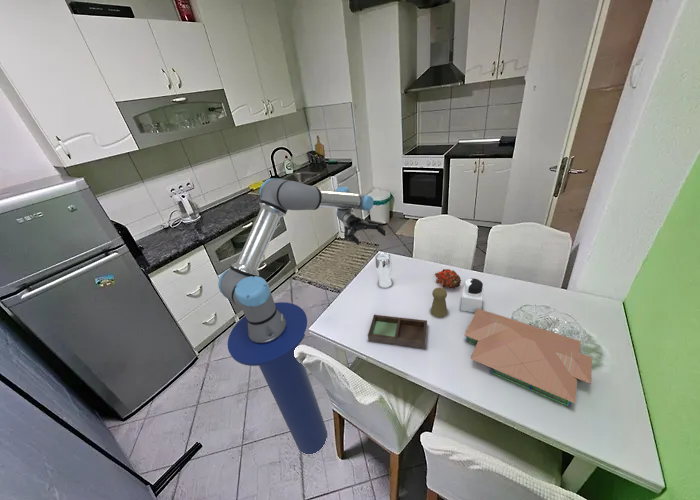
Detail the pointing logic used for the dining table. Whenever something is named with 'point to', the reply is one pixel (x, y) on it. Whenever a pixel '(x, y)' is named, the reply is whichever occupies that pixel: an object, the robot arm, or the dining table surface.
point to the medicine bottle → (472, 295)
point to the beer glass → (384, 269)
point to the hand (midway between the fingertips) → (371, 237)
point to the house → (529, 354)
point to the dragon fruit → (448, 278)
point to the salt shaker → (439, 303)
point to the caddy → (398, 331)
